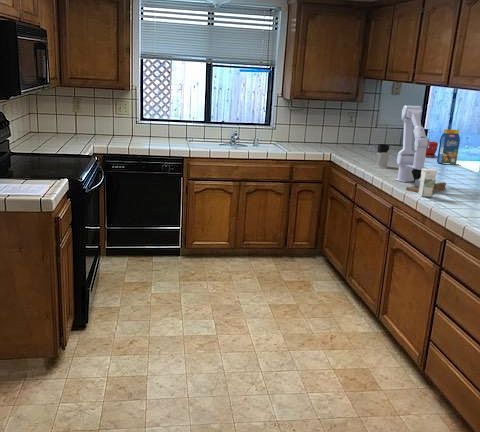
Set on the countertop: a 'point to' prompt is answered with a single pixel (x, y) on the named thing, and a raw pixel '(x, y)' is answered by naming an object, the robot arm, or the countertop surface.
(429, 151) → the plant pot
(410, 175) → the robot arm
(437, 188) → the shelf
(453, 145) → the blue food package
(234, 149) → the countertop surface
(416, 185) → the tray
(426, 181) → the syrup box
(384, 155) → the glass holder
